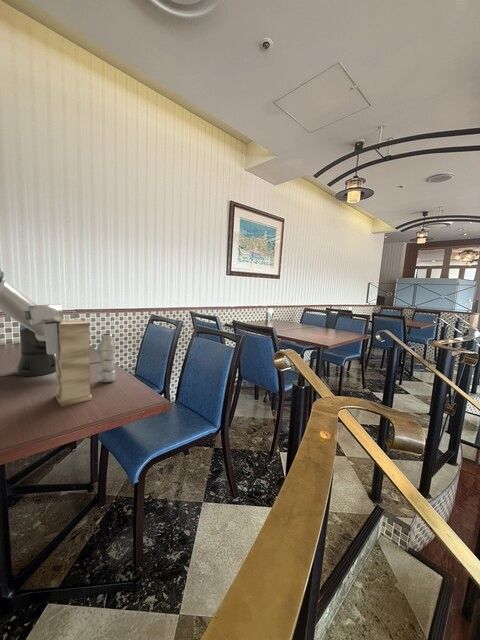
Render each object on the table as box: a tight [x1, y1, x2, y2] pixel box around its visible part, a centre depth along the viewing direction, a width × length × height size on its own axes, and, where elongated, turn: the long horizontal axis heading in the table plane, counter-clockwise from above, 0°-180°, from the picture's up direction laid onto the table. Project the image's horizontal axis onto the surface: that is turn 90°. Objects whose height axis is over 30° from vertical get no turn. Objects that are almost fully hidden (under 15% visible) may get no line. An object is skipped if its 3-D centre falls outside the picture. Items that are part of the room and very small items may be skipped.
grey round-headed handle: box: [24, 303, 64, 355], centre depth 85 cm, size 6×16×9 cm
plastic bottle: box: [97, 333, 117, 383], centre depth 109 cm, size 6×7×20 cm
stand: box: [54, 319, 93, 407], centre depth 91 cm, size 11×9×27 cm
